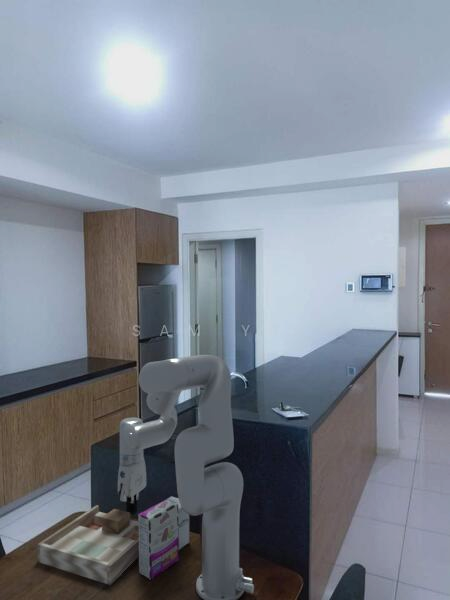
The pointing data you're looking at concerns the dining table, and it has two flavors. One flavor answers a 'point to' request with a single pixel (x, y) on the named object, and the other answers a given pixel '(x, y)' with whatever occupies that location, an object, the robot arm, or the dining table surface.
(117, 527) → the walnut block
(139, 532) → the candy bar box
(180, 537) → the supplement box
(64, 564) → the tray
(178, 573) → the dining table surface
